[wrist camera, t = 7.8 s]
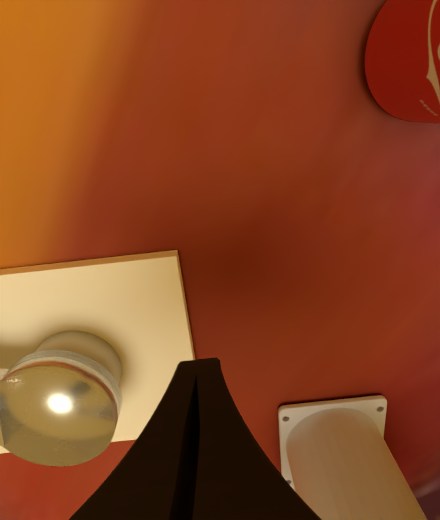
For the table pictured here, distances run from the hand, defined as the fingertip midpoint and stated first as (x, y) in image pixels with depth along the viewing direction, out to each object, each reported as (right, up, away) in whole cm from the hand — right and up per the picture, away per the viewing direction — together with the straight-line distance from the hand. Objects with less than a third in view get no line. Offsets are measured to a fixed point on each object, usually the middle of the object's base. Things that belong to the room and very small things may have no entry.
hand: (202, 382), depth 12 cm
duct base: (-9, -2, +12) cm, 15 cm away
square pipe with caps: (-13, -3, +9) cm, 16 cm away
